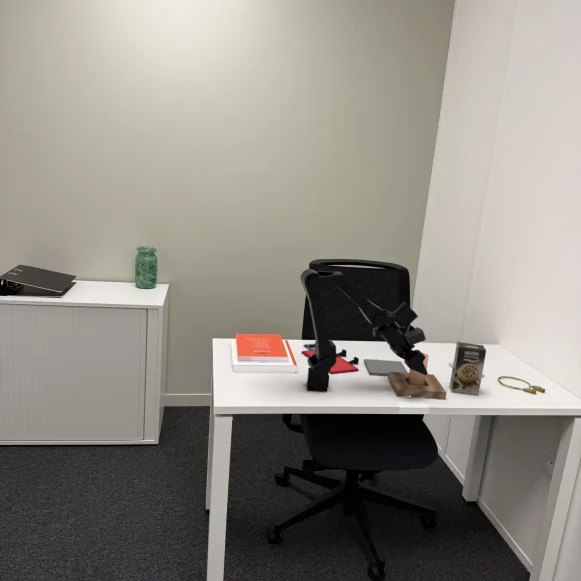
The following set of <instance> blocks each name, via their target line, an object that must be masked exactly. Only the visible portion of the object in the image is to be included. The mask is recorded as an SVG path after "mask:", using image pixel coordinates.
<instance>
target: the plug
mask: <svg viewBox="0 0 581 581" xmlns="http://www.w3.org/2000/svg"><path fill="white" fill-rule="evenodd" d="M422 353H423V355H424V356H425V357H426V358H425V360H424V361H423V363H424V366H425V368H426V370H427V371H428V363H429V362H428V361H429V357H430V356H429V354H427V353H425V352H422ZM408 373H409V379H408V385H418V386H424V385H425V378H426V375H424V374H421V373H419V372H417V371H414V370H411V369H410V368H409V371H408Z"/></svg>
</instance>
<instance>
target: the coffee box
mask: <svg viewBox="0 0 581 581" xmlns="http://www.w3.org/2000/svg"><path fill="white" fill-rule="evenodd" d="M454 352H455V353H454V358H453V362H452V363H453V368H452V371H451V377H450V382H449V387H450V390H451V392H452V393H458V394H466V395H471V394H472V395H473V396H479V395H480V389H481V383H482V378H483V377H482V374H483V373H484V372H483V371H484V366H485V360H486V354H487V349H486V348H485V345H484V344H476V343H470V342H469V343H468V342H460V341H457V342H456V346H455V351H454Z"/></svg>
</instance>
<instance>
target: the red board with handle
mask: <svg viewBox="0 0 581 581" xmlns="http://www.w3.org/2000/svg"><path fill="white" fill-rule="evenodd" d="M303 346H305V347H306V348H307V349H308V350H301V354H302V355H303V354H304V355H303V356H305V357H306V358H307V357H308V358H307V359H309V358H310V357H311V356H312V355H313V354H314V353H315V343H308V344H307V343H306V344H303ZM336 354H337V356H338V358H337V357H336V364H335V365H334V366H333V367H332V368H331V370H330V372H329V375H339V373H340V374H347V373H348V372H349V373H356V372H357V371H358V372H359V371H360V369H359V368H358V367H356V366H358V365H359V361H360V358H359V357H357V356H353V359H352V360H350V361H347V360H345V358H347V354H348V353H347V349H341V351H340V352H336ZM353 364H354V365H353ZM355 364H356V366H355Z"/></svg>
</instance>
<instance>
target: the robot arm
mask: <svg viewBox="0 0 581 581" xmlns="http://www.w3.org/2000/svg"><path fill="white" fill-rule="evenodd" d="M300 283H301V285H302V287H303V290H304V293H305V294H306V297H307V300H308V304H309V310H310V311H309V312H310V315H311V321H312V326H313V332H314V337H315V343H314V344H315V353H314V354H313V355H312V356H311V357H310V358H307V363H308V366H309V367H308V368H307V369H308V370H307V377H306V382H305V384H306V386H305V387H306V390H307V391H309V392H310V391H311V392H322V393H323V392H326V393H327V392H328V388H329V387H330V386H329V385H330V384H329V383H330V373H329V372H330V370H331V368H332V367H333V366H334V365H335V364H336V357H337V358H338V356H337V345H336V343H334V341H333V340H332V339H329V334H328V328H327V323H326V319H325V318H326V317H325V312H324V305H323V300H322V299H323V298H322V296H323V291H324V290H323V289H326V288H331V287H338V289H339V290H340V291H342V292H343V293H344V294H345V296H347V297H348V298H349V299H350V300H351V301H352V302H353V303H354V304H355V305H356V306H357V307H358V309H359V311H360V312H361V314H362V315H363V317H364V318H365V320H366V321H368V323H369V324H370V325H372V326H373V328H372V335H373V337H374V338H378V337H380V336H381V337H382V339H383V340H384V341H385V342H386V343H387V345H388V346H389V349H390V350H391V351H392V352H393V354H395V355H396V356H397V357H399V358H400V359H403V361H404V365H406V366H407V367H408V369H409V370H410V369H411V370H414V371H417V372H419V373H421V374H424V375H427V374H429V372H428V369H427V370H426V368H425V366H424V363H423V361H424V360H425V358H426V357H425V356H424V355H423V353H424V352H421V350H419V349H414V348H415V347H416V346H415V345H416V344H419V343H422V342H425V341H426V340H427V338H426V335H425V333H424V330H423V329H422V328H421V327H417V326H416V327H414V326H413V325H412V323H413V322H414V321H415V320H416V319H417V318H419V315H418V314H417V313H416V312H415V310H413V309H412V308H411V307H410V306H409V305H408V304H407V303H406V302H405V301H403V302H402V303H401V304H400V305H399V306H398V307H396V309H395V310H393V311H392V312H391V311H390V310H386V309H382V308H381V307H379V306H378V305H376V304H375V303H373V302H372V301H370V300H368V298H366V297H365V296H364V295H363V294H362V293H361V292H360V291H359V290H358V288H356V286H354V285H353V284H352V283H351V282H350V281H349V280H348V279H347V278H346V277H345V275H344V274H343V273H341V271H338V270H337V271H327V270H325V271H324V270H317V271H316V270H315V269H312V268H307V269H305V270H303V271H302V273H301V274H300ZM398 327H399V328H400V329H401V328H403V329H406V328H407V329H406V331H405V333H404V332H403V331H401V330H400V329H399V328H398Z"/></svg>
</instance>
